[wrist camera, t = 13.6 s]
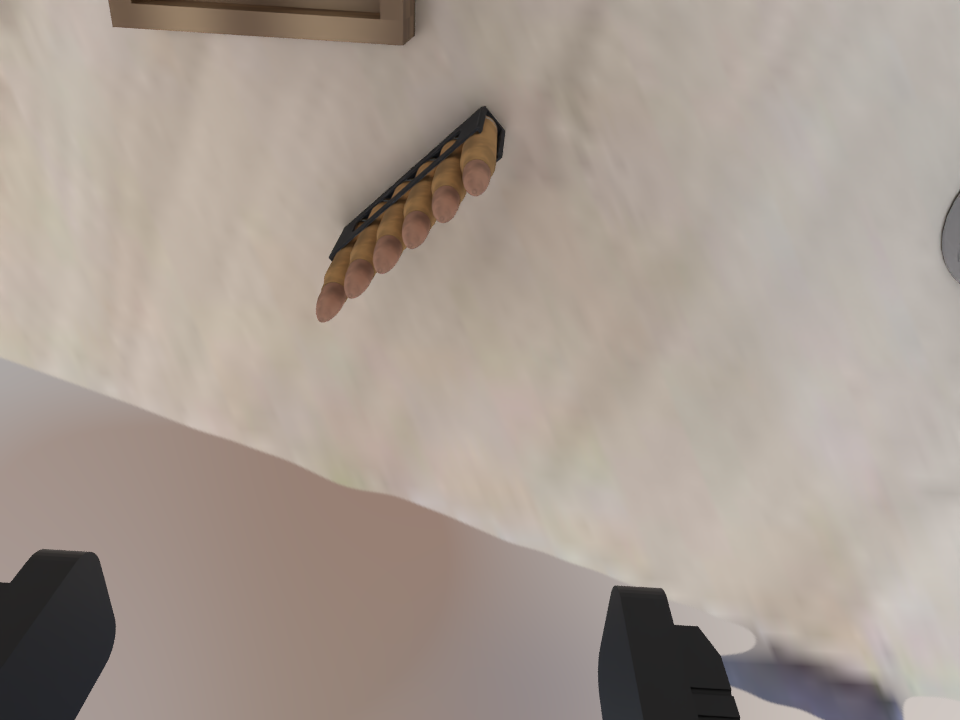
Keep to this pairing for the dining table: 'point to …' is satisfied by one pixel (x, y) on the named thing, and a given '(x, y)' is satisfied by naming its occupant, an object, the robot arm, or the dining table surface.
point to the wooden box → (275, 18)
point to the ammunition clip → (411, 209)
